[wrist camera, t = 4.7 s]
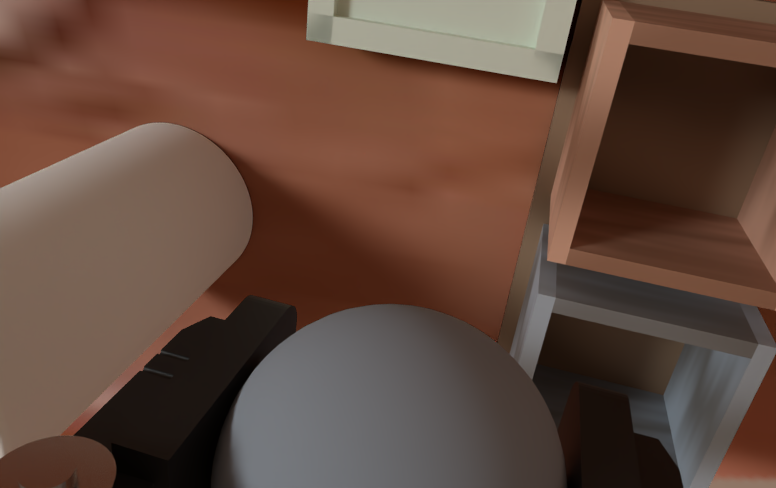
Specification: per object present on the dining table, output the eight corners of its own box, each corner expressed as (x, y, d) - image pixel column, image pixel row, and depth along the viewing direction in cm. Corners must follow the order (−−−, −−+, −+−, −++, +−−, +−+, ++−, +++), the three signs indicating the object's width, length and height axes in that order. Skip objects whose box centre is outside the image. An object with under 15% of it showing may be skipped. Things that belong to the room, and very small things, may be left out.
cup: (267, 159, 30) (4, 359, 16) (237, 297, 34) (5, 553, 20) (111, 97, 30) (-274, 236, 16) (99, 239, 34) (-220, 448, 20)
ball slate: (302, 218, 10) (120, 405, 6) (604, 290, 9) (636, 561, 5) (283, 440, 12) (138, 692, 8) (528, 514, 11) (507, 834, 7)
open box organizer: (587, -26, 23) (594, -11, 17) (854, 13, 22) (962, 43, 16) (491, 364, 32) (474, 464, 26) (679, 411, 30) (707, 528, 24)
